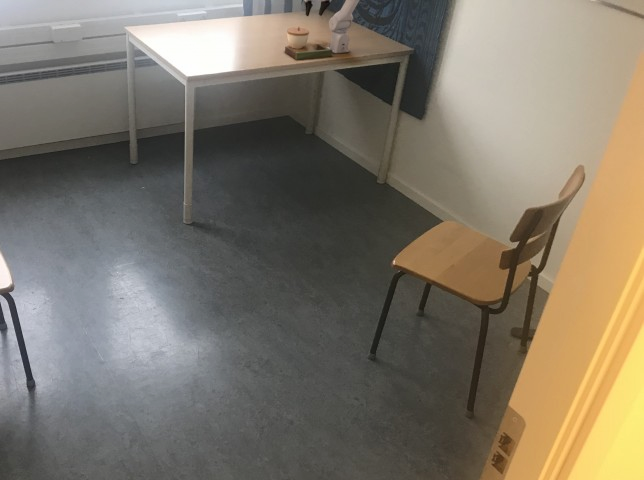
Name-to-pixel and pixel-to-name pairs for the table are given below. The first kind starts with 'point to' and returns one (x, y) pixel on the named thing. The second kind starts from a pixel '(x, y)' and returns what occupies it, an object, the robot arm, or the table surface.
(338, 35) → the robot arm
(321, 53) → the olive green tray
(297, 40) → the trinket box
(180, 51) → the table surface
